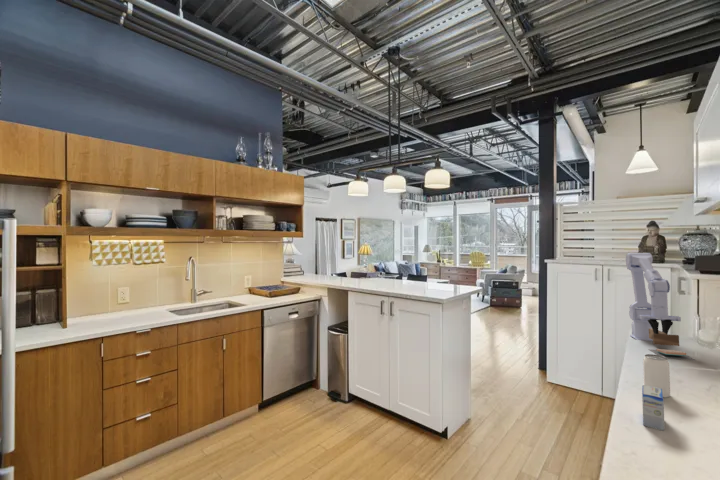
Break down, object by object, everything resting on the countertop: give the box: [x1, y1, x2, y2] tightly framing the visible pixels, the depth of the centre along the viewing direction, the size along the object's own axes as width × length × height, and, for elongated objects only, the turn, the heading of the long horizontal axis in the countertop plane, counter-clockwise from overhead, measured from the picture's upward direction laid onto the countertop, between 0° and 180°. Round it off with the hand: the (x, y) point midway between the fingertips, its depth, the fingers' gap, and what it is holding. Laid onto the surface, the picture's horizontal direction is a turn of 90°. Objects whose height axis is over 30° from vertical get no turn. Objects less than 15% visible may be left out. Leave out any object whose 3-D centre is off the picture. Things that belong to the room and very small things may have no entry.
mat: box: [648, 348, 696, 361], centre depth 149 cm, size 12×12×1 cm
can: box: [642, 353, 671, 399], centre depth 112 cm, size 6×6×12 cm
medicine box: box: [641, 384, 665, 431], centre depth 94 cm, size 8×4×9 cm, turn 141°
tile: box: [656, 348, 688, 356], centre depth 148 cm, size 1×7×8 cm
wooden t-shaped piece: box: [649, 328, 680, 347], centre depth 158 cm, size 13×9×4 cm
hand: (660, 336), depth 156 cm, fingers closed on wooden t-shaped piece, 2 cm apart
